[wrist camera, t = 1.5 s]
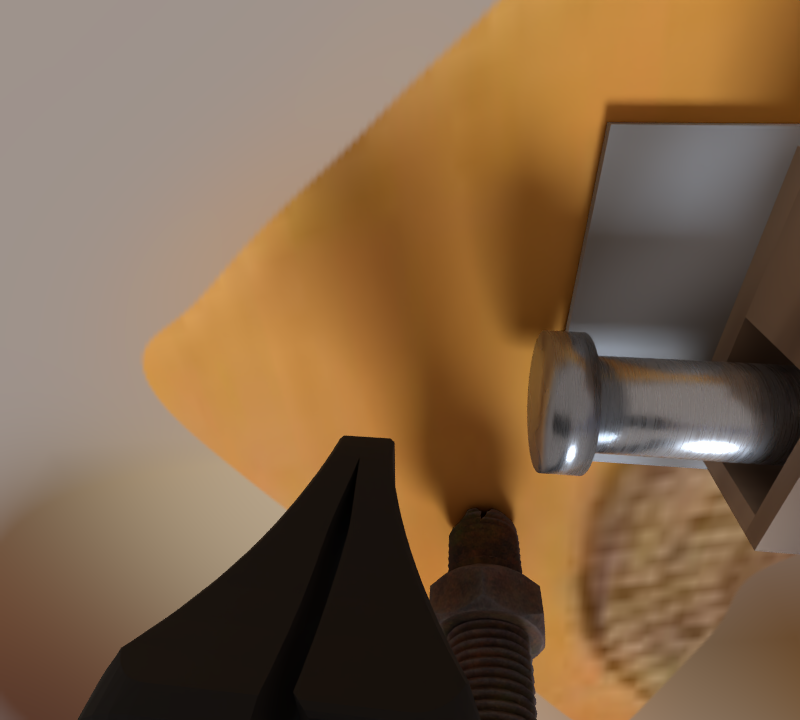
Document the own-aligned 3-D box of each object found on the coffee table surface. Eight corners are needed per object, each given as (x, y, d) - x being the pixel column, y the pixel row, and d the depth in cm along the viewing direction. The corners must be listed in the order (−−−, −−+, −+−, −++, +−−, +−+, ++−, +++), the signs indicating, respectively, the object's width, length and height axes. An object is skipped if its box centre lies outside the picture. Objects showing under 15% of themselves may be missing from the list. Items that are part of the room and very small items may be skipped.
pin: (863, 318, 15) (991, 408, 11) (800, 428, 18) (890, 531, 14) (540, 305, 16) (564, 384, 12) (523, 411, 18) (538, 504, 15)
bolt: (565, 513, 23) (694, 1104, 10) (512, 571, 25) (562, 1094, 13) (448, 471, 22) (430, 1047, 9) (407, 536, 25) (350, 1050, 12)
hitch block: (1084, 126, 13) (1465, 177, 8) (849, 471, 20) (977, 613, 15) (607, 122, 14) (685, 165, 9) (541, 450, 21) (565, 576, 16)
